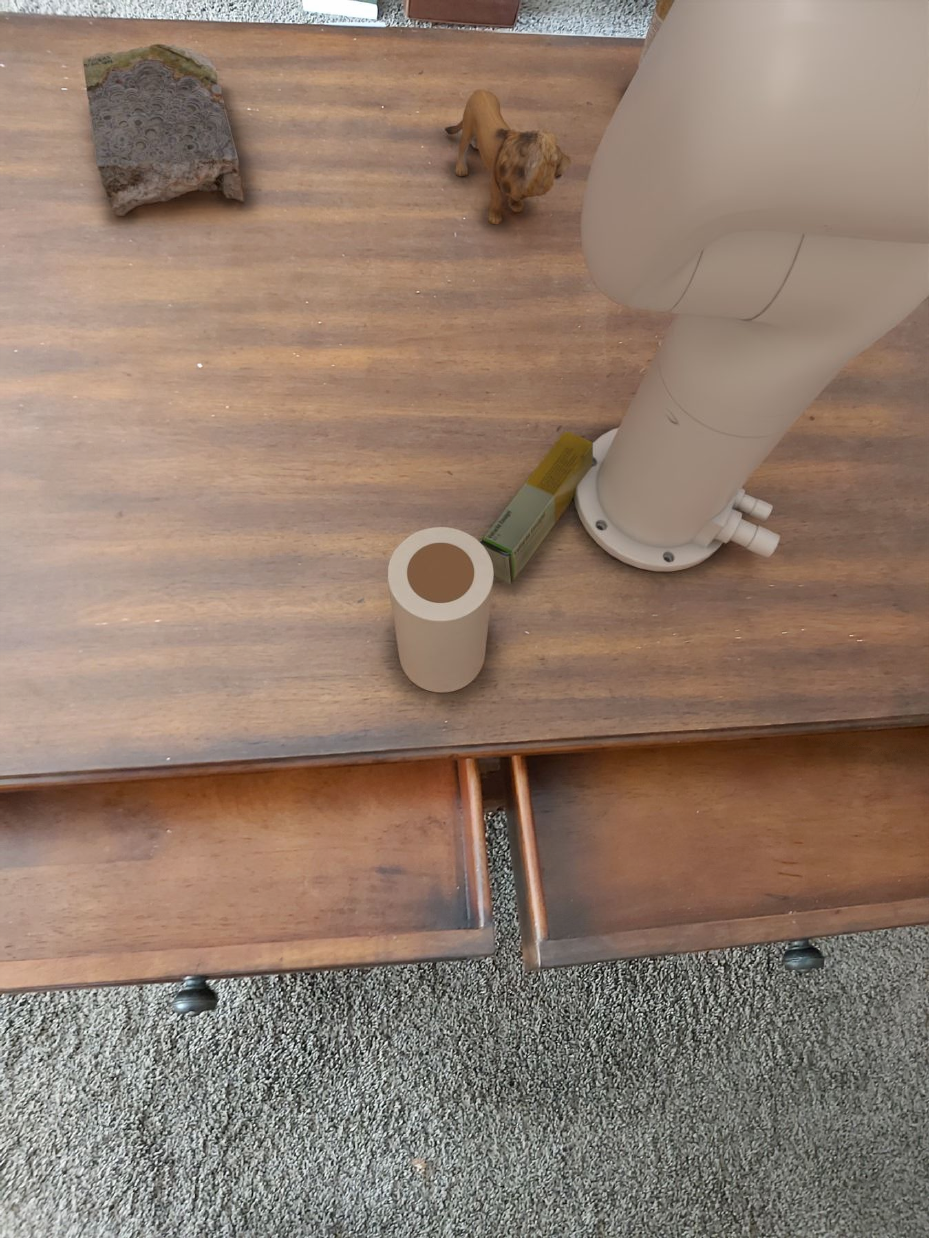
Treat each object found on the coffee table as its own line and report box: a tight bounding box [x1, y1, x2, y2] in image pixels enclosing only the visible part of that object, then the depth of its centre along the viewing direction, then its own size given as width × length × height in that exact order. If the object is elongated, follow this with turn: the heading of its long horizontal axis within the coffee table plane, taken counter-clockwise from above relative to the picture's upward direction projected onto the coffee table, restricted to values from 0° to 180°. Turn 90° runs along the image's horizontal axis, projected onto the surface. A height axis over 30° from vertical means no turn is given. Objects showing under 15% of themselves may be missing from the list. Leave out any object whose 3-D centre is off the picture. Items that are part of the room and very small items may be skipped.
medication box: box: [479, 430, 593, 585], centre depth 62 cm, size 12×3×4 cm, turn 146°
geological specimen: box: [82, 43, 246, 217], centre depth 70 cm, size 11×6×15 cm
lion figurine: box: [444, 88, 572, 225], centre depth 71 cm, size 15×5×9 cm, turn 35°
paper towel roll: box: [387, 526, 495, 693], centre depth 52 cm, size 6×6×12 cm
